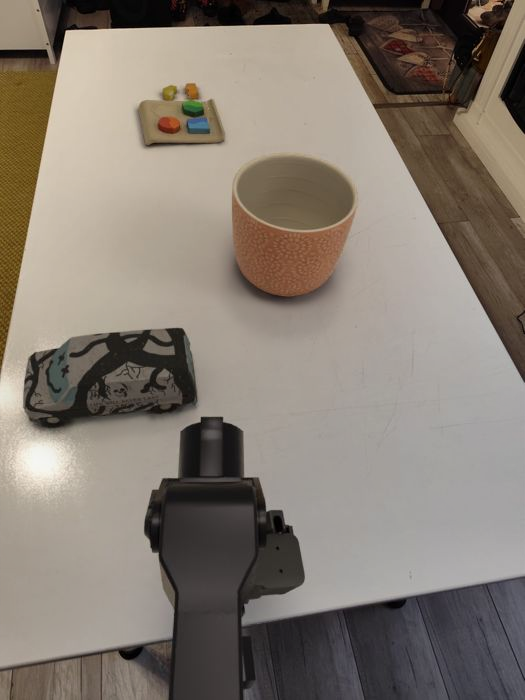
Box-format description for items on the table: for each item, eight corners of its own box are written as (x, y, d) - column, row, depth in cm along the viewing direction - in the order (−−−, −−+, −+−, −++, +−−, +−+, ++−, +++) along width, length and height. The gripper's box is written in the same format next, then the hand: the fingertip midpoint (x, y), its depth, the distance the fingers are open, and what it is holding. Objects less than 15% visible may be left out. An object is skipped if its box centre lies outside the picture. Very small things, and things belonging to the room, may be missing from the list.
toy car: (36, 372, 83) (17, 333, 75) (191, 356, 87) (189, 318, 79) (31, 431, 77) (10, 397, 69) (199, 411, 81) (197, 376, 73)
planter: (214, 246, 103) (215, 161, 88) (309, 226, 108) (326, 144, 93) (251, 324, 92) (259, 243, 77) (354, 298, 98) (381, 218, 82)
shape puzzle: (226, 143, 124) (226, 129, 121) (145, 148, 120) (144, 135, 117) (207, 88, 138) (207, 75, 135) (135, 91, 134) (133, 78, 132)
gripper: (327, 672, 39) (299, 683, 52) (285, 446, 50) (270, 501, 63) (179, 698, 38) (187, 702, 51) (168, 459, 48) (177, 512, 61)
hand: (210, 594), depth 56 cm, fingers closed
